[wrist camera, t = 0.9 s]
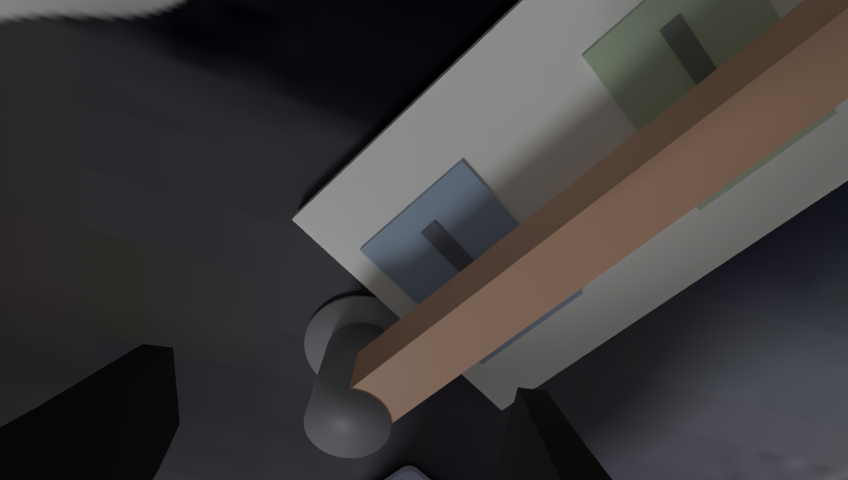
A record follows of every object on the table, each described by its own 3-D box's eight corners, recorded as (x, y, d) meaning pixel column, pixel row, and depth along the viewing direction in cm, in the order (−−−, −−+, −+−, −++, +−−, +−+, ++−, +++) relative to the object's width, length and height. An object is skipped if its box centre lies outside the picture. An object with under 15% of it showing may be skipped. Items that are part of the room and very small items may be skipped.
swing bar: (363, 393, 22) (348, 470, 19) (311, 350, 21) (285, 423, 18) (861, 17, 16) (992, 20, 12) (816, -65, 15) (943, -89, 11)
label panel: (921, 112, 17) (947, 117, 17) (417, 453, 24) (416, 469, 23) (745, -216, 14) (767, -232, 13) (215, 289, 21) (205, 301, 20)
